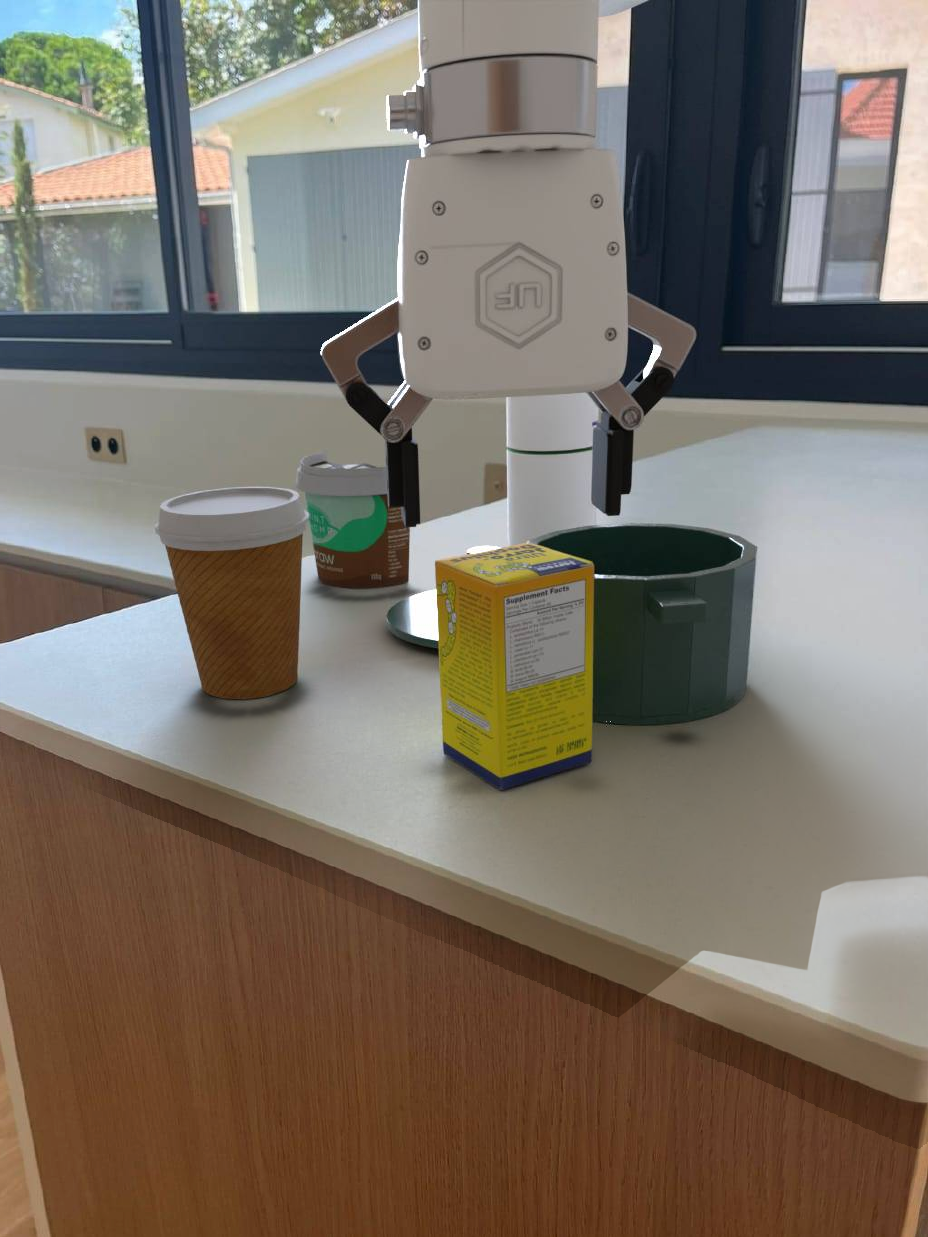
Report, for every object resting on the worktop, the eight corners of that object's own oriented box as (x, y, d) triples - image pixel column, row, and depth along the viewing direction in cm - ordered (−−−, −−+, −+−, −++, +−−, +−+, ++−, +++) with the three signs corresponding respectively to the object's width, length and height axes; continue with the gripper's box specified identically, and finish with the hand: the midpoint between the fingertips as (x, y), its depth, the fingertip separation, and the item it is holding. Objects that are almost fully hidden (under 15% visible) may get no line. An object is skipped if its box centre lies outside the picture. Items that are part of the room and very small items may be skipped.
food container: (275, 575, 98) (264, 461, 94) (330, 561, 101) (322, 450, 97) (363, 601, 89) (355, 475, 85) (420, 584, 92) (415, 463, 89)
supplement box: (528, 728, 63) (527, 539, 59) (594, 765, 58) (598, 561, 54) (438, 753, 61) (431, 557, 56) (500, 793, 56) (496, 582, 51)
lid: (561, 592, 88) (561, 521, 86) (612, 650, 75) (614, 567, 73) (378, 606, 87) (374, 535, 85) (397, 667, 74) (393, 584, 72)
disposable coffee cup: (352, 677, 72) (339, 494, 68) (236, 721, 66) (213, 523, 62) (261, 649, 79) (244, 480, 74) (148, 687, 73) (121, 505, 68)
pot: (691, 629, 78) (697, 508, 75) (801, 734, 60) (816, 582, 57) (499, 642, 77) (497, 522, 74) (554, 752, 60) (554, 601, 57)
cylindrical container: (604, 570, 94) (612, 248, 84) (581, 593, 88) (587, 249, 78) (523, 565, 96) (522, 253, 87) (496, 587, 90) (491, 255, 81)
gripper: (307, 118, 44) (333, 543, 50) (736, 100, 45) (707, 522, 51) (307, 139, 51) (330, 510, 57) (679, 123, 52) (660, 492, 58)
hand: (508, 515), depth 54 cm, fingers open, 9 cm apart
